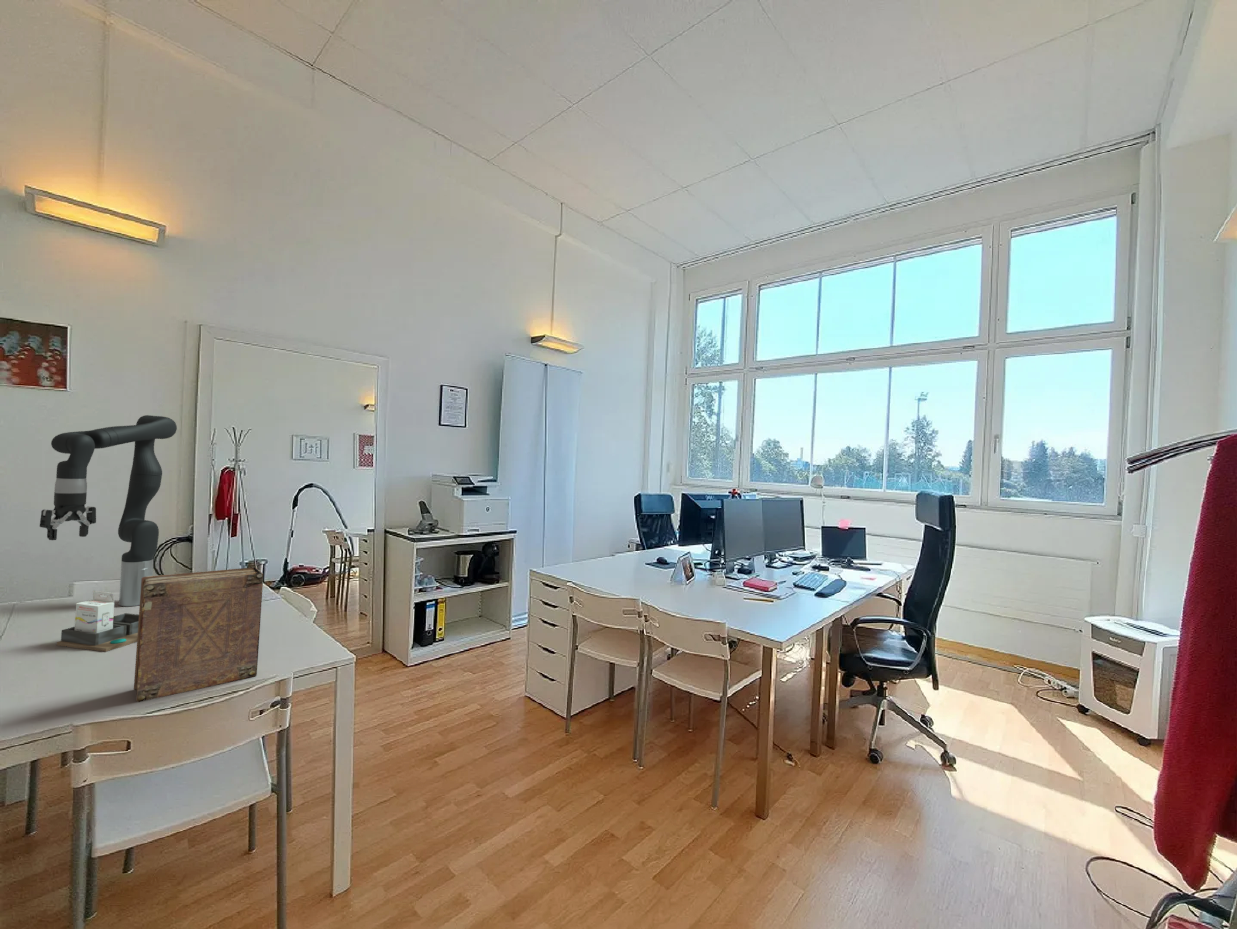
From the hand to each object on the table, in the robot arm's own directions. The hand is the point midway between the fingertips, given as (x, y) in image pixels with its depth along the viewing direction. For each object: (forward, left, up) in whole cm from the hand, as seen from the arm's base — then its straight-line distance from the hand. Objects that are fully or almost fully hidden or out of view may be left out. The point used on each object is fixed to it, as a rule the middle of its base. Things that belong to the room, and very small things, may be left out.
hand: (68, 538), depth 171 cm
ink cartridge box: (+9, +24, -29) cm, 39 cm away
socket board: (+4, +27, -30) cm, 41 cm away
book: (+24, +79, -30) cm, 88 cm away
